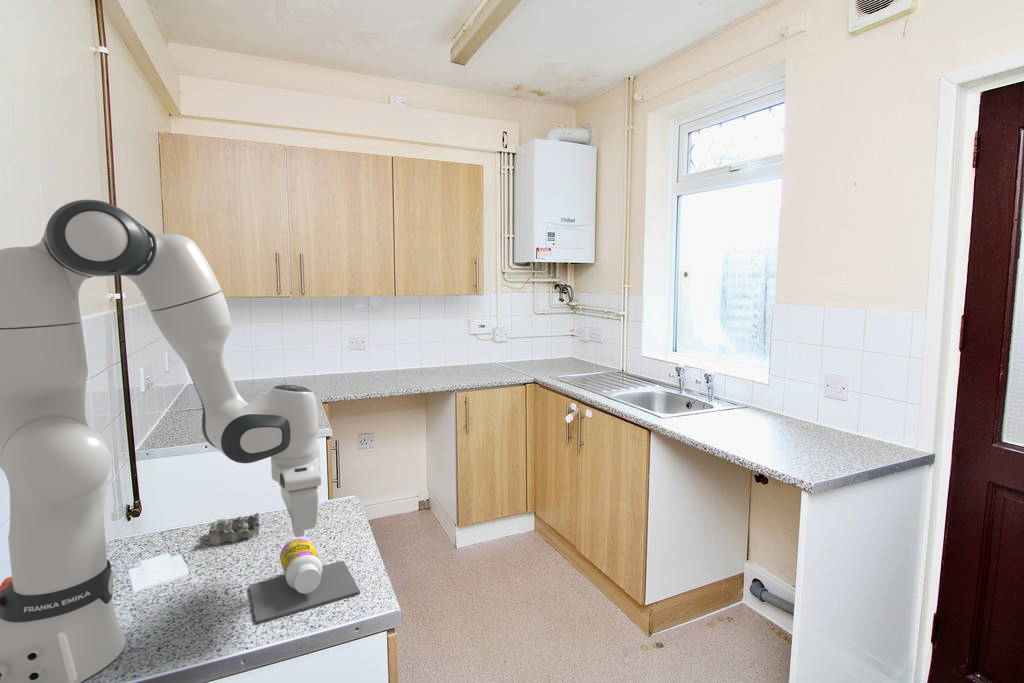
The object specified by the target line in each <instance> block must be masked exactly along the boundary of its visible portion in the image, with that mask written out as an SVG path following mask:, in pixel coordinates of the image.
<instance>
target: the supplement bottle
mask: <svg viewBox="0 0 1024 683" xmlns="http://www.w3.org/2000/svg"><path fill="white" fill-rule="evenodd" d="M279 560H280V565H281V568H282V570H283V571H282V572H283V573H284V576H285V577H286V580H287V583H288V585H289V586H290V587H292V588H293V589H296V590H297V591H298V592H299V593H303V594H306V593H310V592H312V591H314V590H315V589H316V588H317V587H318V585H319V584H320V580H321V574H322V566H323V565H322V561H321V559H320V557H319V555H318V552H317V550H316V549H315V546H314V544H313V542H312V541H311V540H310V539H308V538H306V537H302V536H300V537H295V538H293V539H290V540H289V541H287V542H285V544H284V545H283V547H282V548H281V550H280V553H279Z"/></svg>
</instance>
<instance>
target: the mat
mask: <svg viewBox="0 0 1024 683" xmlns="http://www.w3.org/2000/svg"><path fill="white" fill-rule="evenodd" d="M249 593H250V597H251V602H252V609H253V614H254V618H255V624H256V625H257V624H261V623H265V622H268V621H271V620H275V619H278V618H281V617H284V616H288V615H292V614H295V613H298V612H299V613H300V612H302V611H306V610H309V609H312V608H315V607H320V606H322V605H325V604H330V603H333V602H335V601H336V602H337V601H339V600H342V599H346V598H350V597H353V596H356V595H358V594H359V595H360V594H361V590H360V588H359V587H358V585H357V582H356V581H355V579H354V577H353V575H352V573H351V572H350V570H349V568H348V567H347V565H346V562H345V561H344V560H341V561H337V562H334V563H333V562H332V563H329V564H327V565H326V564H324V565H322V574H321V580H320V584H319V585H318V587H317V588H316V589H315V590H314V591H312V592H310V593H306V594H303V593H299V592H298V591H297V590H296V589H293V588H292V587H290V586H289V585H288V583H287V580H286V577H285V575H283V576H279V577H275V578H271V579H268V580H264V581H259V582H256V583H251V584H249Z"/></svg>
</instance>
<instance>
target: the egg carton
mask: <svg viewBox="0 0 1024 683" xmlns="http://www.w3.org/2000/svg"><path fill="white" fill-rule="evenodd" d="M251 526H253V527H251ZM249 528H253V530H252V529H251V530H249ZM236 529H237V531H236ZM207 535H208V536H209V545H215V546H219V544H220V545H222V544H223V543H226V542H231V543H235V541H236V542H239V540H242V539H248V540H251V538H253V539H255V537H254V536H256V535H258V536H260V514H259V513H258V512H257V513H254V514H250V515H245V516H244V517H242V516H241V515H240V516H239V517H233V518H229V519H223V518H221V519H217V520H215V521H214V522H213V523H211V524H210V527H209V530H208V534H207ZM256 537H257V536H256ZM241 538H242V539H241ZM225 541H226V542H225ZM221 543H222V544H221Z"/></svg>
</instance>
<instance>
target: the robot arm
mask: <svg viewBox="0 0 1024 683" xmlns="http://www.w3.org/2000/svg"><path fill="white" fill-rule="evenodd" d="M108 276H109V277H111V276H124V277H126V278H128V279H130V280H131V281H132V282H133V284H135V286H136V287H137V288H138V289H139V291H140V293H141V295H142V296H143V299H144V300H145V303H146V305H147V308H148V310H149V312H150V314H151V317H152V319H153V321H154V323H155V324H156V326H157V328H158V329H159V331H160V333H161V334H162V336H163V337H164V338H165V340H166V341H167V343H168V344H169V346H171V348H172V349H173V350H174V352H175V353H176V355H178V357H179V358H180V359H181V361H182V362H183V363H184V365H185V367H186V369H187V371H188V374H189V376H190V378H191V381H192V383H193V386H194V387H195V390H196V392H197V394H198V397H199V400H200V402H201V408H202V415H201V416H202V417H201V431H202V434H203V437H204V439H205V440H206V442H207V443H208V444H209V445H211V446H212V447H213V448H215V449H217V450H219V452H220V453H222V454H223V455H224V456H225V457H227V459H230V461H233V462H235V463H238V464H251V463H252V464H253V463H256V462H259V461H263V460H265V459H267V458H270V464H271V465H270V466H271V467H270V468H271V470H270V471H271V478H272V480H273V481H275V482H277V483H278V486H279V487H280V494H281V498H282V500H283V503H284V505H285V507H286V510H287V513H288V515H289V517H290V520H291V525H292V526H291V529H292V532H293V533H292V534H294V537H295V538H299V537H303V536H304V535H305V531H307V530H311V529H312V530H313V529H315V528H316V526H317V523H318V516H319V487H320V486H322V484H323V483H322V474H321V460H320V459H321V457H320V455H321V454H320V444H319V443H318V433H319V429H320V428H319V427H320V424H319V412H318V411H319V410H318V404H317V399H316V395H315V393H314V392H313V391H312V390H310V389H308V388H307V387H304V386H301V385H300V386H299V385H293V384H278V385H275V386H273V387H272V388H271V389H270V390H269V391H267V393H266V394H264V395H263V396H262V397H259V399H257V400H255V401H253V402H252V403H249V402H248V401H247V400H246V399H244V398H243V397H242V396H241V395H240V393H239V392H238V389H237V388H236V385H235V383H234V380H233V377H232V375H231V372H230V370H229V366H228V364H227V362H226V359H225V353H224V352H225V351H224V349H225V348H224V347H225V344H226V340H227V339H228V337H229V336H230V334H231V331H232V328H233V326H232V318H231V315H230V311H229V310H230V309H229V305H228V304H227V303H228V302H227V300H226V297H225V294H224V292H223V290H222V287H221V285H220V283H219V281H218V279H217V277H216V275H215V273H214V271H213V269H212V267H211V265H210V264H209V262H208V260H207V258H206V257H205V254H203V252H202V251H201V249H200V247H198V245H197V244H196V242H195V241H193V240H192V239H191V238H189V237H187V236H185V235H182V234H176V233H161V234H156V235H155V234H153V232H152V231H151V230H149V229H148V228H146V227H145V226H143V225H142V224H141V223H140V222H139V221H137V220H136V219H135V218H134V217H133V216H131V215H130V214H129V213H128V212H126V211H124V209H121V208H120V207H118V206H116V205H114V204H112V203H108V202H105V201H102V200H98V199H97V200H96V199H79V200H75V201H71V202H68V203H66V204H64V205H62V206H61V207H59V208H58V209H56V210H55V211H54V212H53V214H52V215H51V216H50V218H49V219H48V221H47V223H46V226H45V230H44V233H43V237H42V238H41V240H40V241H39V242H38V243H36V244H34V245H30V246H14V247H13V246H12V247H5V248H1V249H0V469H1V470H2V472H3V473H4V474H5V477H6V480H7V483H8V488H9V532H8V536H7V540H8V552H9V561H10V571H11V576H8V577H7V578H4V579H3V581H2V582H1V584H0V683H82V682H84V681H86V680H87V679H89V678H90V677H92V676H94V675H96V674H98V673H99V672H100V671H102V670H103V669H105V668H106V667H108V666H109V665H110V664H111V663H112V662H114V661H115V660H116V659H117V658H118V657H119V655H121V653H122V652H123V650H124V649H125V647H126V644H127V637H126V636H125V634H124V632H123V630H122V628H121V625H120V623H119V621H118V618H117V614H116V611H115V607H114V603H113V595H114V593H115V592H114V576H113V574H114V573H113V570H112V567H111V561H110V560H109V559H108V558H107V542H106V541H107V540H106V531H105V528H106V527H105V508H106V499H107V492H108V483H109V482H108V481H109V480H108V479H109V473H110V471H111V467H112V456H111V455H112V454H111V452H110V449H109V446H108V443H107V441H106V440H105V438H104V437H103V436H102V435H101V433H99V432H98V431H96V430H95V429H93V428H92V427H90V426H89V424H88V422H87V418H86V388H87V387H86V386H87V378H88V376H89V374H88V373H89V369H88V361H87V354H86V346H85V339H84V331H83V326H82V325H83V324H82V323H83V322H82V318H81V317H82V315H81V311H80V310H81V309H80V304H79V302H80V300H79V297H80V295H79V293H80V289H81V287H82V284H83V283H84V282H85V281H86V280H88V279H91V278H94V277H95V278H96V277H97V278H98V277H101V278H102V277H108Z"/></svg>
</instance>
